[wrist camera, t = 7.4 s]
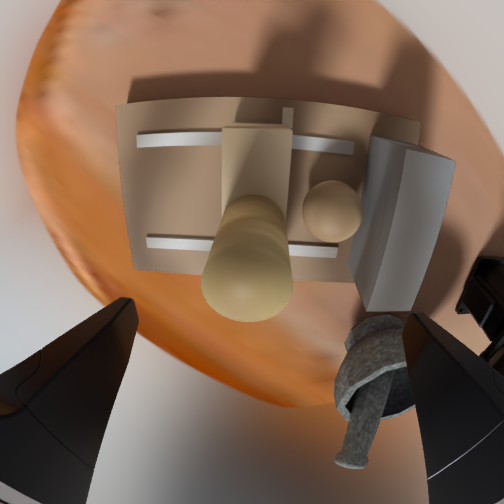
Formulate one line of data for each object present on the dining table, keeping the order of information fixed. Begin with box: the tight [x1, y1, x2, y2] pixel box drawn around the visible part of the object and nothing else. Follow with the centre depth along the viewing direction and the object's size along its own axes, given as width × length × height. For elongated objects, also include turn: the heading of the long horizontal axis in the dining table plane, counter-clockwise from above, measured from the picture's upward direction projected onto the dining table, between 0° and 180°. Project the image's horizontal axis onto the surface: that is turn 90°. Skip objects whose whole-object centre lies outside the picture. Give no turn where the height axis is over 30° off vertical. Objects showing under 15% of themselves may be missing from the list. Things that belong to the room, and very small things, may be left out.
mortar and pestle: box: [334, 314, 415, 469], centre depth 20 cm, size 11×9×12 cm
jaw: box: [201, 122, 293, 322], centre depth 13 cm, size 3×9×9 cm, turn 178°
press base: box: [116, 97, 456, 311], centre depth 16 cm, size 19×12×6 cm, turn 88°
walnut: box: [302, 180, 363, 242], centre depth 16 cm, size 4×4×4 cm
